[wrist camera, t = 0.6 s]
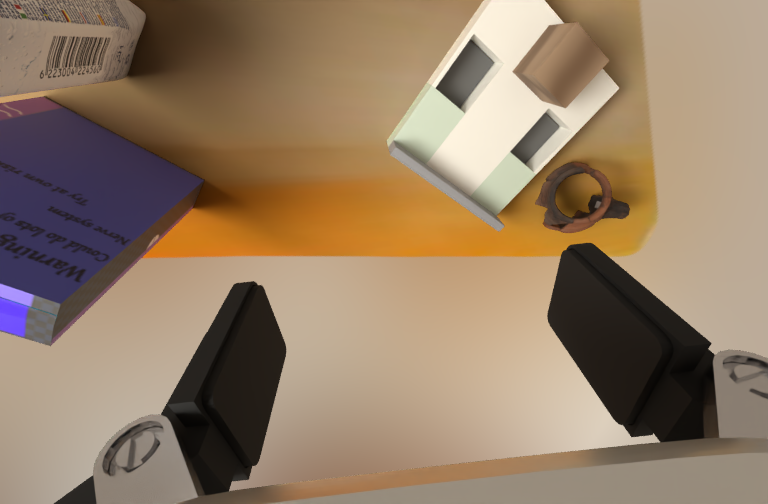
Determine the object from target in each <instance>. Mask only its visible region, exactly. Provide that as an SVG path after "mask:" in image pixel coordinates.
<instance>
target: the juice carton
mask: <svg viewBox="0 0 768 504" xmlns="http://www.w3.org/2000/svg"><path fill="white" fill-rule="evenodd" d="M145 19H146V14H145V13H144V12H143V11H142V10H141V9H140V8H139V7H137V6H136V5H135V4H133V3H132V2H130V1H129V0H0V97H3V96H10V95H17V94H24V93H31V92H38V91H45V90H52V89H59V88H66V87H73V86H80V85H87V84H94V83H101V82H108V81H115V80H120V79H123V78H125V77H126V76H127V74H128V72H129V69H130V66H131V62H132V59H133V55H134V51H135V48H136V45H137V42H138V39H139V37H140V34H141V32H142V29H143V26H144V23H145Z"/></svg>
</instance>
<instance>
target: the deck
mask: <svg viewBox="0 0 768 504" xmlns="http://www.w3.org/2000/svg"><path fill="white" fill-rule="evenodd" d="M556 24H564V23H563V21H562V20H561V19H560V18H559V17H558V15H557V14H556V13H555V12H554V11H553V10H552V8H551V7H550V6H549V5H548V4H547V3H546V1H545V0H484V1H483V2H482V4H481V5H480V7H479V8H478V9H477V11H476V12H475V14H474V15H473V17H472V18H471V20H470V21H469V22H468V24H467V25H466V27H465V28H464V30H463V31H462V33H461V34H460V35H459V37H458V38H457V40H456V41H455V43H454V44H453V46H452V47H451V49H450V50H449V51H448V53H447V54H446V56H445V57H444V59H443V60H442V62H441V63H440V64H439V66H438V67H437V69H436V70H435V72H434V73H433V75H432V76H431V77H430V79H429V80H428V82H427V83H426V85H425V86H424V88H423V89H422V90H421V92H420V93H419V95H418V96H417V98H416V99H415V101H414V102H413V104H412V105H411V106H410V108H409V109H408V111H407V112H406V114H405V115H404V117H403V118H402V119H401V121H400V122H399V124H398V125H397V127H396V128H395V130H394V131H393V132H392V134H391V135H390V137H389V138H388V140H387V144H388V148H389V152H390V155H391V156H393V157H394V158H396V159H397V160H399V161H400V162H401V163H403V164H404V165H406V166H407V167H408V168H410V169H411V170H413V171H414V172H415V173H417V174H418V175H420V176H421V177H422V178H424V179H425V180H427V181H428V182H430V183H431V184H432V185H434V186H435V187H437V188H438V189H439V190H441V191H442V192H444V193H445V194H446V195H448V196H449V197H451V198H452V199H454V200H455V201H456V202H458V203H459V204H461V205H462V206H463V207H465V208H466V209H468V210H469V211H470V212H472V213H473V214H475V215H476V216H477V217H479V218H480V219H482V220H483V221H485V222H486V223H487V224H489V225H490V226H492V227H493V228H494V229H496V230H497V231H500V230H501V229H502V228H503V227H504V225H503V223H502V222H501V221H500V220H499V218H498V217H497V215H498V214H499V212H500V211H501V210H502V209H503V208H504V207H505V206H506V205H507V204H508V203H509V202H510V201H511V200H512V199H513V198H514V197H515V196H516V195H517V194H518V193H519V192H520V191H521V190H522V189H523V188H524V187H525V186H526V185H527V183H528V182H529V181H530V180H531V179H532V178H533V177H534V176H535V175H536V174H537V173H538V172H539V171H540V170H541V169H542V168H543V167H544V166H545V165H546V164H547V163H548V162H549V161H550V160H551V159H552V158H553V157H554V156H555V155H556V153H557V152H558V151H559V150H560V149H561V148H562V147H563V146H564V145H565V144H566V143H567V142H568V141H569V140H570V139H571V138H572V137H573V136H574V135H575V134H576V133H577V132H578V131H579V130H580V129H581V128H582V127H583V126H584V124H585V123H586V122H587V121H588V120H589V119H590V118H591V117H592V116H593V115H594V114H595V113H596V112H597V111H598V110H599V109H600V108H601V107H602V106H603V105H604V104H605V103H606V102H607V101H608V100H609V99H610V98H611V97H612V96H613V94H614V93H615V92H616V91H617V90H618V89H619V87H618V86H617V85H616V84H615V82H614V81H613V80H612V79H611V78H610V76H609V75H608V74H607V73H606V72H605V71H604V69H603V68H602V70H601V71H600V72H599V73H598V74H597V75H596V76H595V77H594V78H593V79H592V80H591V82H590V83H589V84H588V85H587V86H586V87H585V88H584V89H583V90H582V91H581V92H580V93H579V95H578V96H577V97H576V98H575V99H574V100H573V101H572V102H571V103H570V104H569V105H568V107H567V108H563V107H560V106H556V105H553V104H550V103H547V102H543V101H541V100H540V99H539V98H538V97H537V96H536V95H535V94H534V93H533V92H532V91H531V90H530V89H529V88H528V87H527V86H526V85H525V84H524V83H523V82H522V81H521V80H520V79H519V78H518V77H517V76H516V75H515V74H514V73H513V72H512V71H513V70H514V69H515V68H516V66H517V65H518V64H519V63H520V61H521V60H522V59H523V57H524V56H525V55H526V54H527V52H528V51H529V50H530V49H531V47H532V46H533V45H534V44H535V42H536V41H537V40H538V39H539V37H540V36H541V35H542V34H543V32H544V31H545V30H546V29H547V27H548V26H549V25H556ZM470 39H471V40H472V41H473V42H474V43H475V44H476V45H477V46H478V47H479V48H480V49H481V50H482V51H483V52H484V53H485V54H486V55H487V56H488V57H489V58H488V57H487V56H486V55H485V54H484V53H483V52H482V51H481V50H480V49H479V48H478V47H477V46H476V45H475V44H474V43H473V42H472V41H471V40H470ZM490 67H491V68H490ZM474 88H475V89H474ZM461 105H462V106H461ZM547 114H548V115H549V116H550V117H551V118H552V119H553V120H554V121H555V122H556V123H557V124H558V125H559V126H558V125H557V124H556V123H555V122H554V121H553V120H552V119H551V118H550V117H549V116H548V115H547Z"/></svg>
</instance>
